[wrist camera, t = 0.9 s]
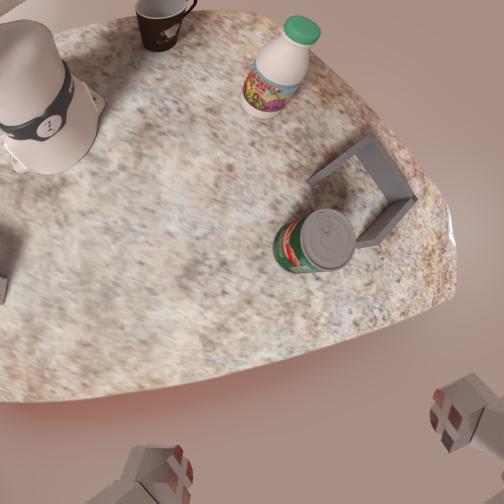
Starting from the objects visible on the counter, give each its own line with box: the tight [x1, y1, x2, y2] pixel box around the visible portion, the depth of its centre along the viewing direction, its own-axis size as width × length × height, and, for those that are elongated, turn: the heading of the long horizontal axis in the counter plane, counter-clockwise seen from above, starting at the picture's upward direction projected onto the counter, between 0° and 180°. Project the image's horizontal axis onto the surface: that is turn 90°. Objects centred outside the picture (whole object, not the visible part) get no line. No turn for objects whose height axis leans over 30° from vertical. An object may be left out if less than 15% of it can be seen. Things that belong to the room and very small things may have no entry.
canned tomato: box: [272, 208, 356, 274], centre depth 42 cm, size 8×8×11 cm
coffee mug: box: [135, 0, 197, 52], centre depth 40 cm, size 12×9×10 cm
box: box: [307, 132, 418, 249], centre depth 48 cm, size 14×13×6 cm
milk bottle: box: [240, 16, 321, 119], centre depth 39 cm, size 8×8×20 cm
